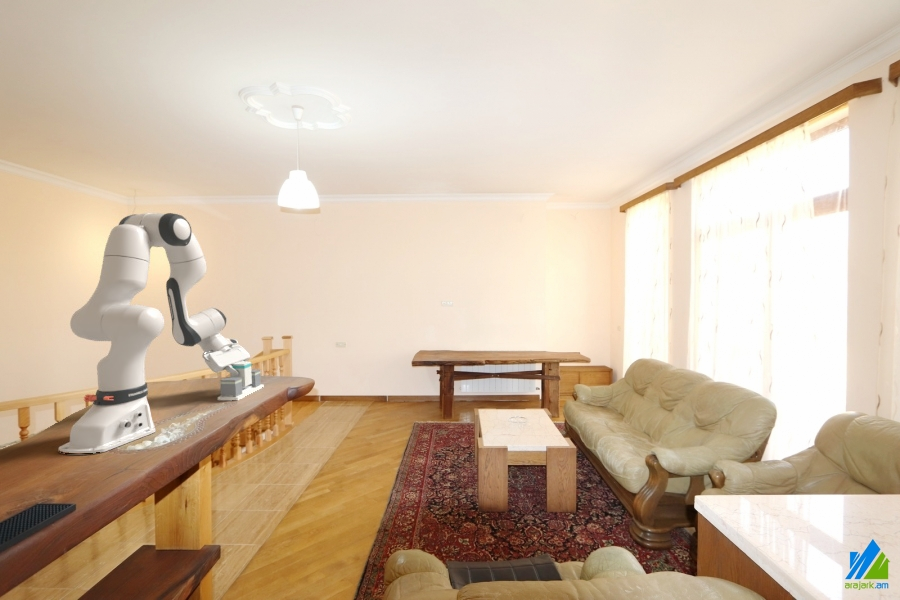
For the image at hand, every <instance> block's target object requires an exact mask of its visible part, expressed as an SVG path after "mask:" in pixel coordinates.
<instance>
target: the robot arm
mask: <svg viewBox="0 0 900 600" xmlns="http://www.w3.org/2000/svg"><path fill="white" fill-rule="evenodd" d="M152 247H153V248H163V249H164V250H165V251H164V252H165V254H166V255H165V256H166V257H167V261H168V263H169V267H170V268H169V270H170V271H169V278H168V280H167V281H166V284H165V289H166V295H167V300H168V301H167V302H168V307H169V311H170V317H171V324H172V325H171V330H172V337H173V339H174V341H175V342H176V343H177V344H178V345H182V346H184V347H194V346H195V345H198V346H199V347H200V348H201V350H202V351H203V353H202V358H203V360H204V362H205V364H206V366H208V368H209V369H210V370H211V371H212V372H213V373H217V374H218V373H220V372H223V371H226V372H227V373H229V374H230V373H232V374H233V375H234V376H238V375H239V374H240V372H239V371H238V370H235V369H234V368H232V366H231V364H234V363H237V362H249V359H250V358H251V355H250V353H249V352H248V351H247V349H246V348H244V347H243V346H242V345H240V344H239V341H238V340H237V339H235V338H234V339H233V338H227V337H224V335H222V333H221V331H223V330H224V328H225V327H226V324H227V317H226V315H225V314H224V313H223V312H222V311H221V310H219V309H218V308H215V307H210V308H206V309H205V310H202V311H199V312H198V313H196V314H193V315H190V316H189V312H188V306H187V296H188V294H189V292H190V291H191V290H192V288H194V287H195V285H197V284H198V283H199V282H200V281H201V280H202V279H203V278H204V277H205V275H206V274H207V273H206V272H207V270H208V267H207V260H206V258H205V255H204V252H203V250H202V247H201V245H200V243H199V241H198V239H197V237H196V236H195V234H194V232H193V231H192V226H191V224H190V222H189V221H188V220H187V218H186V217H184V216H183V215H180V214H178V213H171V212H168V213H164V212H163V213H159V212H156V213H155V212H147V213H145V212H144V213H140V214H138V213H137V214H130V215H127V216H125V217H123V218H122V219H121V220H120V221H119V222H118V225H116V226H113V228H111V231H110V233H109V235H108V237H107V241H106V245H105V248H104V251H103V256H102V257H103V258H102V265H101V271H100V275H99V280H98V283H97V286H96V288H95V290H94V292H93V293H92V295H91V297H90V298H89V299H88V301H86V303H85V304H84V305H83V306H82V307H80V308H79V309H77V310H76V311H75V312H74V313H73V314H72V316H71V318H70V323H69V325H70V329H71V331H72V333H73V334H74V335H75V336H77V337H78V338H81V339H84V340H89V341H93V342H110V343H111V345H110V349H109V352H108V353H107V355H105V357H103V358H101V359H100V360H99V361H98V362H97V365H96V374H97V388H98V389H97V390H96V392H95V394H85V396H84V397H83V401H84V402H86V403H87V402H88V403H89V402H91V403H92V406H91V407H90V408H89V409H88V410H86V412H85V413H84V414H83V415H82V416H81V417H80V418H79V419H78V420H77V421H76V422H75V423H74V424H73V425H72V426H71V428H70V435H69V442H66V443H64V444H62V445H60V446H59V447H58V451H59V450H60V451H63V452H69V453H93V454H97V453H96V452H100V453H105V452H107V451H110V450H112V449H115V448H118V447H120V446H123V445H126V444H128V443H131V442H134V441H136V440H138V439H141V438H144V437H146V436H148V435H151V434H154V433H156V427H155V423H154V421H153V418H152V413H151V408H150V405H149V402H148V399H147V398H148V397H147V396H148V394H149V392H148V391H149V387H148V383H147V382H146V367H145V366H146V356H147V354H148V353H147V352H148V350H149V347H150V345H151V344H152V343H153V341H154V340H155V339H156V338H157V337H159V336H160V334H161V333H162V332H163V330H164V328H165V317H164V315H163V314H162V312H161V311H160V309H158V308H155V307H152V306H148V305H142V304H131V302H132V301H133V299H134V298H135V296H136V295H137V294H139V293H140V292H143V290H145V289H146V287H147V284H148V279H149V278H148V276H149V271H150V270H149V269H150V261H151V260H150V259H151V250H152V249H151V248H152Z"/></svg>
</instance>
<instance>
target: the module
mask: <svg viewBox="0 0 900 600" xmlns="http://www.w3.org/2000/svg"><path fill="white" fill-rule="evenodd" d="M231 366H232V368H234V369H235V370H238V371H239V372H240V374H239V375H238V376H234V375H233V374H232V373H230V372H229V374H230V377H242V387H246V386H248V385H250V384H252V374H251V369H252V361H247V362H237V363H234V364H231Z"/></svg>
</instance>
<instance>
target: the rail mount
mask: <svg viewBox="0 0 900 600" xmlns="http://www.w3.org/2000/svg"><path fill="white" fill-rule="evenodd" d="M251 374H252V384H250V385H248V386H246V387H242V377H228V376H227V377H225V378H222V379H220V380H219V385H220V395H219V396H217V401H232V400H238V401H240V400H242V399H244V398H246V397H247V395H248V396H249V394H250V395H252V394H254V393H255V391H256V392H257V390H258V391H259V390H262V389H263V388H264V387H265V384H262V380H261V378H262V377H261V375H262V374H261V369H255V368H254V369H253V368H251ZM262 387H263V388H262ZM253 392H254V393H253ZM251 393H252V394H251ZM245 396H246V397H245Z"/></svg>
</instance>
